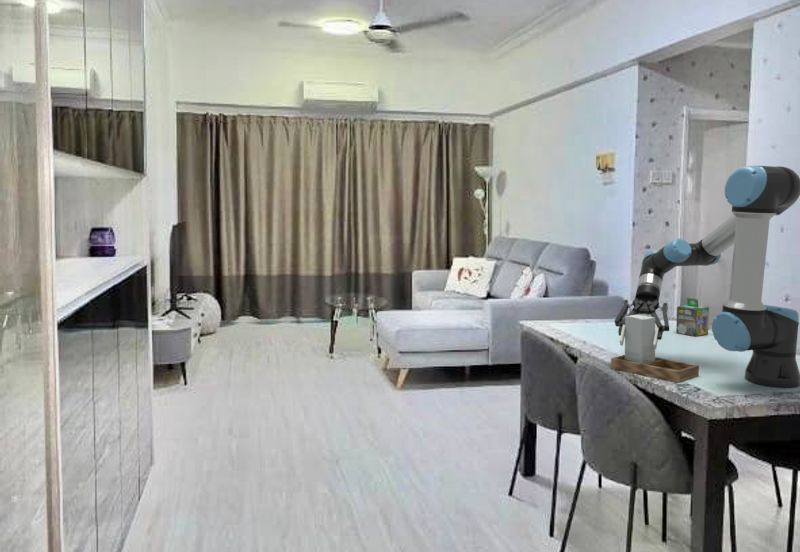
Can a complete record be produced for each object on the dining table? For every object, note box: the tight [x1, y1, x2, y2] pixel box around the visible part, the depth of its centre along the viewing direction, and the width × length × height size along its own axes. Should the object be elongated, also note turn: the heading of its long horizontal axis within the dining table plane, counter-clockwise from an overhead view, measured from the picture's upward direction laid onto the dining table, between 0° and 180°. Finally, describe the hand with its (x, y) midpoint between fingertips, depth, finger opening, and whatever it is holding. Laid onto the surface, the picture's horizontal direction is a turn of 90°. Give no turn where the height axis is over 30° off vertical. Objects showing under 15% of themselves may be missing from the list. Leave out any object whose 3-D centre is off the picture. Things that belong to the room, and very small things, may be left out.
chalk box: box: [675, 297, 710, 337], centre depth 289 cm, size 9×9×15 cm
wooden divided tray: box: [610, 354, 700, 383], centre depth 226 cm, size 23×13×3 cm, turn 41°
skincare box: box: [624, 315, 656, 364], centre depth 229 cm, size 8×6×15 cm
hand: (637, 344), depth 226 cm, fingers closed on skincare box, 10 cm apart
